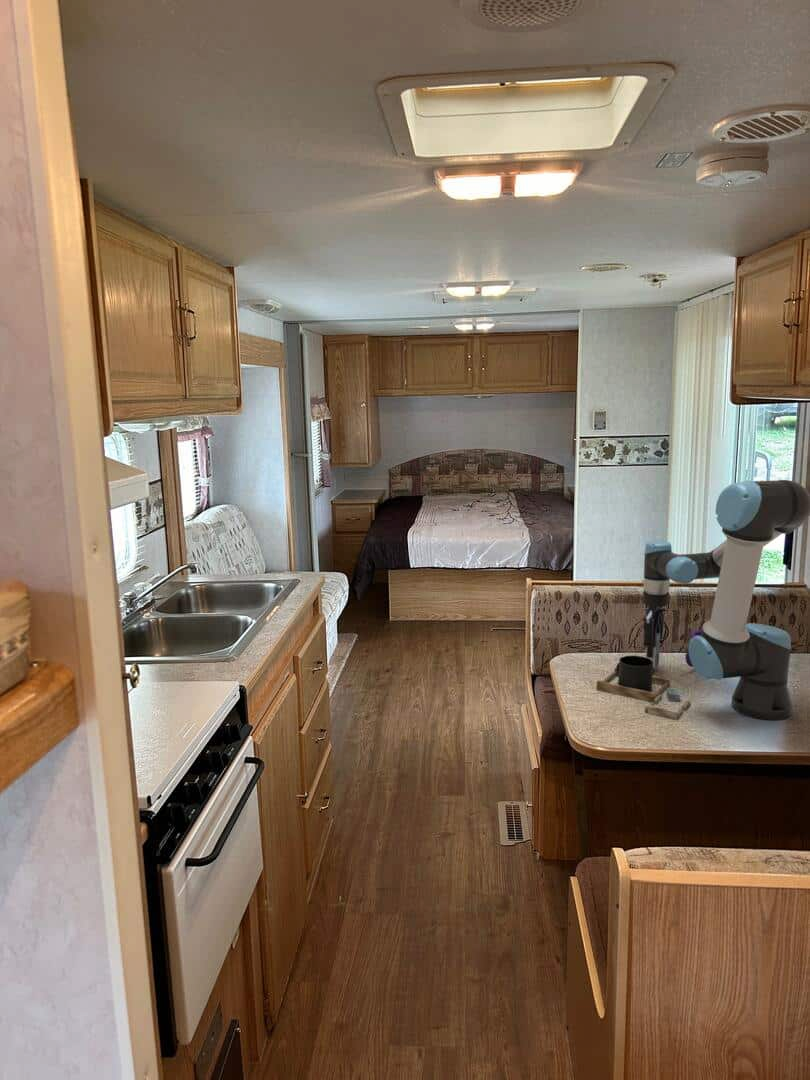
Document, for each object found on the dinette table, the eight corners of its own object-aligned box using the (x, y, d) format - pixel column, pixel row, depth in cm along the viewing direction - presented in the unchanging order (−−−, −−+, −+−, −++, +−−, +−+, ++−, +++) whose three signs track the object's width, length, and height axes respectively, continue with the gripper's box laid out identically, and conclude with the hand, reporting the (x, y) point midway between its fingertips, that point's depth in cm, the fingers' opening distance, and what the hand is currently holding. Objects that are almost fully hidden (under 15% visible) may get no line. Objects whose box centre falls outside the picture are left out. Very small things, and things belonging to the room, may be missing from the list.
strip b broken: (694, 699, 218) (695, 692, 218) (677, 719, 205) (677, 712, 204) (664, 692, 223) (664, 686, 223) (644, 712, 210) (645, 705, 209)
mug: (627, 679, 233) (628, 650, 232) (658, 692, 223) (660, 662, 222) (604, 685, 229) (605, 656, 227) (635, 699, 219) (637, 669, 217)
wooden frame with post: (680, 674, 237) (682, 637, 234) (653, 702, 216) (655, 661, 214) (627, 664, 246) (629, 628, 244) (596, 689, 226) (597, 650, 223)
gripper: (652, 584, 244) (648, 655, 248) (634, 595, 231) (631, 670, 235) (676, 587, 239) (672, 659, 244) (659, 599, 227) (655, 675, 231)
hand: (652, 664), depth 240 cm, fingers closed on wooden frame with post, 3 cm apart
